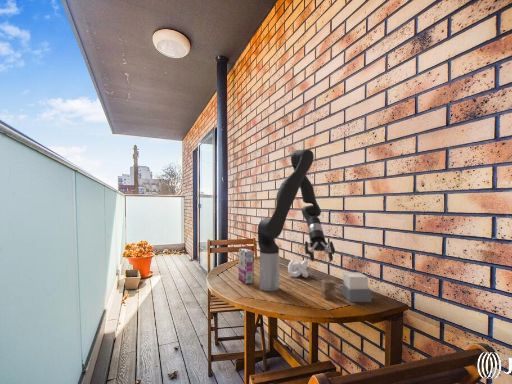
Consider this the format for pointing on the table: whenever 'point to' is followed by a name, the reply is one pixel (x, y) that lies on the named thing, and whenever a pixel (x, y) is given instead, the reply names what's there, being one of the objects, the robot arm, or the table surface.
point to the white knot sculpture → (298, 268)
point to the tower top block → (355, 280)
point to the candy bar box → (246, 266)
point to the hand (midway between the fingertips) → (322, 260)
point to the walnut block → (328, 289)
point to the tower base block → (357, 294)
